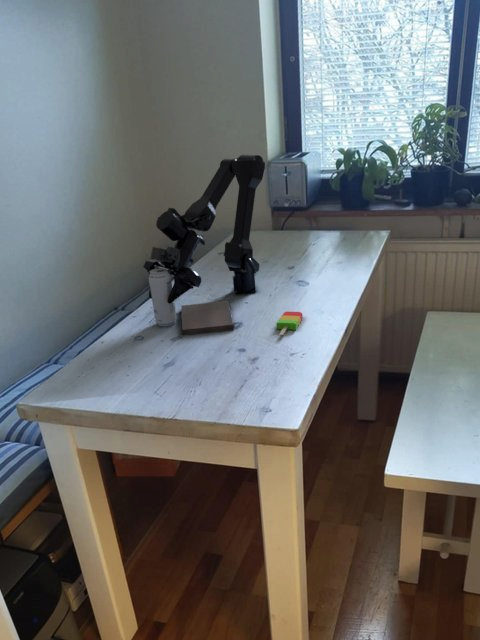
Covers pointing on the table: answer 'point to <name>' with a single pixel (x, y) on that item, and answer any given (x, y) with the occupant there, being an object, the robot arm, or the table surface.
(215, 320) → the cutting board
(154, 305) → the energy drink can
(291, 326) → the popsicle
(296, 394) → the table surface
